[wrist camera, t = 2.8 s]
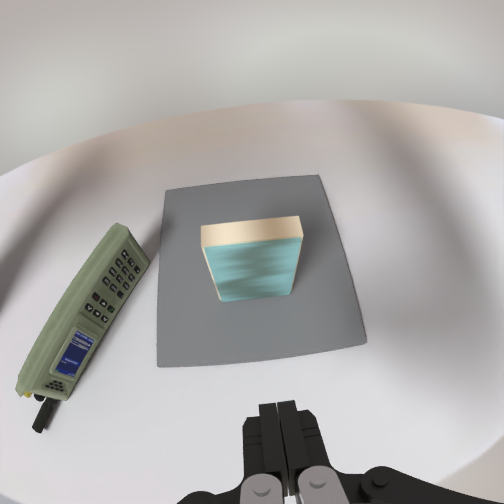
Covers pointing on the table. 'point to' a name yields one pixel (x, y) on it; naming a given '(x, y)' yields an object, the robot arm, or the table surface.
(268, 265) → the tile
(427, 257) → the table surface
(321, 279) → the mat
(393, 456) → the table surface
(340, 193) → the table surface
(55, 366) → the brick cell phone
